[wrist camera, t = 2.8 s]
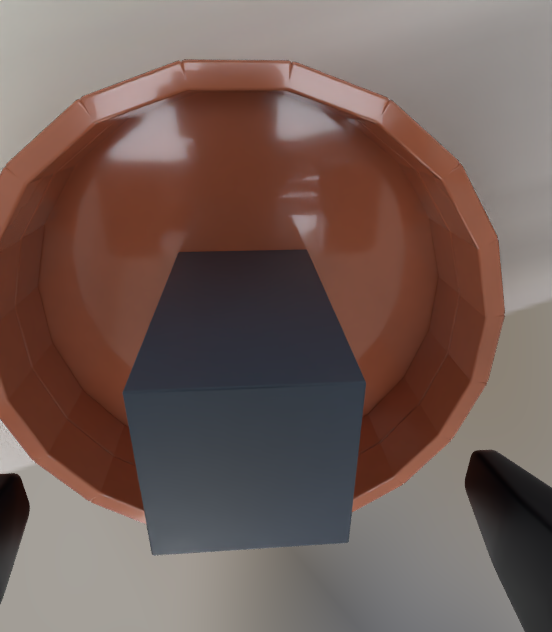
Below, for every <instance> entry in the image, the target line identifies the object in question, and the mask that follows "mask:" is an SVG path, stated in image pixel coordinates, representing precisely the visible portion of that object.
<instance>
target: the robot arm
mask: <svg viewBox="0 0 552 632" xmlns="http://www.w3.org/2000/svg"><path fill="white" fill-rule="evenodd" d="M465 488H466V492H467V495H468V498H469V501H470V504H471V506H472V509H473V512H474V515H475V517H476V520H477V523H478V525H479V528H480V531H481V534H482V536H483V539H484V542H485V545H486V547H487V550H488V553H489V556H490V558H491V561H492V563H493V566H494V568H495V570H496V572H497V574H498V577H499V579H500V581H501V583H502V585H503V587H504V589H505V591H506V593H507V596H508V598H509V600H510V602H511V604H512V606H513V608H514V610H515V612H516V614H517V616H518V619H519V621H520V623H521V625H522V627H523V629H524V631H525V632H552V488H551V487H550V486H548V485H547V484H545V483H544V482H542V481H540V480H539V479H538V478H536V477H535V476H533V475H532V474H530V473H529V472H527V471H526V470H524V469H522V468H521V467H520V466H518V465H516V464H515V463H514V462H512V461H510V460H509V459H507V458H506V457H504V456H503V455H501V454H500V453H498V452H496V451H494V450H478V451H474V452H473V453H472V455H471V458H470V462H469V466H468V470H467V473H466V477H465ZM29 509H30V506H29V501H28V498H27V495H26V492H25V489H24V486H23V483H22V480H21V478H20V476H19V475H18V474H15V473H11V474H0V604H1V601H2V599H3V596H4V593H5V590H6V587H7V584H8V581H9V577H10V574H11V571H12V568H13V565H14V561H15V558H16V555H17V552H18V549H19V545H20V542H21V539H22V536H23V532H24V529H25V526H26V523H27V520H28V516H29V511H30V510H29Z"/></svg>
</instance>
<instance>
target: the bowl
mask: <svg viewBox="0 0 552 632" xmlns="http://www.w3.org/2000/svg"><path fill="white" fill-rule="evenodd" d="M497 238H498V237H497V235H496V233H495V231H494V228H493V226H492V224H491V222H490V220H489V218H488V216H487V214H486V212H485V210H484V208H483V206H482V204H481V202H480V200H479V198H478V196H477V194H476V192H475V190H474V188H473V186H472V184H471V182H470V180H469V178H468V176H467V174H466V172H465V170H464V168H463V166H462V164H461V163H459V161H458V160H457V159H456V158H455V157H454V156H453V155H452V154H451V153H450V152H449V151H448V150H446V149H445V148H444V147H443V146H442V145H441V144H440V143H439V142H438V141H437V140H435V139H434V138H433V137H432V136H431V135H430V134H429V133H428V132H427V131H425V130H424V129H423V128H422V127H421V126H420V125H419V124H418V123H417V122H416V121H414V120H413V119H412V118H411V117H410V116H409V115H408V114H407V113H406V112H405V111H403V110H402V109H401V108H400V107H399V106H398V105H397V104H396V103H395V102H393V101H392V100H389V99H388V98H387V97H385V96H383V95H380V94H378V93H375V92H372V91H370V90H367V89H365V88H362V87H359V86H357V85H354V84H352V83H349V82H347V81H344V80H341V79H339V78H336V77H334V76H331V75H328V74H326V73H323V72H321V71H318V70H316V69H313V68H310V67H308V66H305V65H303V64H300V63H297V62H292V63H291V61H289V60H192V59H184V60H182V61H175V62H173V63H170V64H167V65H165V66H162V67H159V68H157V69H154V70H151V71H149V72H146V73H143V74H141V75H138V76H135V77H133V78H130V79H127V80H124V81H122V82H119V83H116V84H114V85H111V86H108V87H106V88H103V89H100V90H98V91H95V92H92V93H90V94H87V95H84V96H82V97H81V98H80V99H77V100H76V101H75V102H73V103H72V104H71V105H70V106H69V107H68V108H67V109H66V110H65V111H64V112H62V113H61V114H60V115H59V116H58V117H57V118H56V119H55V120H54V121H53V122H52V123H50V124H49V125H48V126H47V127H46V128H45V129H44V130H43V131H42V132H41V133H39V134H38V135H37V136H36V137H35V138H34V139H33V140H32V141H31V142H30V143H28V144H27V145H26V146H25V147H24V148H23V149H22V150H21V151H20V152H19V153H17V154H16V155H15V156H14V157H13V158H12V159H11V160H10V161H9V162H8V163H7V164H6V167H4V168H3V169H2V172H1V174H0V419H1V421H2V422H3V423H4V425H5V426H6V427H7V428H8V430H9V431H10V432H11V433H12V435H13V436H14V437H15V439H16V440H17V441H18V442H19V444H20V445H21V446H22V448H23V449H24V450H25V451H26V453H27V454H28V455H29V457H30V458H31V459H32V460H34V462H35V463H37V464H38V465H39V466H41V467H42V468H44V469H45V470H46V471H48V472H49V473H51V474H52V475H53V476H55V477H56V478H57V479H59V480H60V481H62V482H63V483H64V484H66V485H67V486H68V487H70V488H71V489H73V490H74V491H76V492H77V493H78V494H80V495H81V496H82V497H84V498H85V499H86V500H88V501H91V502H92V503H94V504H96V505H99V506H101V507H104V508H106V509H109V510H111V511H114V512H116V513H119V514H121V515H124V516H126V517H129V518H131V519H134V520H136V521H139V522H142V523H144V524H146V519H145V513H144V508H143V502H142V497H141V491H140V486H139V481H138V475H137V470H136V464H135V459H134V453H133V448H132V442H131V437H130V431H129V426H128V420H127V415H126V409H125V404H124V398H123V390H124V387H125V385H126V382H127V380H128V377H129V375H130V372H131V370H132V367H133V365H134V362H135V360H136V357H137V355H138V352H139V350H140V347H141V345H142V342H143V340H144V337H145V335H146V332H147V330H148V327H149V325H150V322H151V320H152V317H153V315H154V312H155V310H156V307H157V305H158V302H159V300H160V297H161V295H162V292H163V290H164V287H165V284H166V282H167V279H168V277H169V274H170V272H171V269H172V267H173V264H174V262H175V259H176V257H177V254H178V252H205V251H254V250H304V249H306V250H307V251H308V253H309V255H310V258H311V260H312V262H313V264H314V267H315V269H316V271H317V273H318V276H319V278H320V280H321V282H322V285H323V287H324V289H325V291H326V293H327V296H328V298H329V300H330V302H331V305H332V307H333V309H334V311H335V314H336V316H337V318H338V320H339V323H340V325H341V327H342V329H343V332H344V334H345V336H346V338H347V341H348V343H349V345H350V347H351V350H352V352H353V354H354V356H355V359H356V361H357V363H358V365H359V367H360V370H361V372H362V374H363V376H364V379H365V381H366V389H365V398H364V407H363V416H362V425H361V434H360V443H359V452H358V462H357V471H356V480H355V489H354V498H353V507H352V512H354V511H356V510H357V509H359V508H361V507H363V506H365V505H367V504H369V503H370V502H372V501H374V500H376V499H377V498H379V497H381V496H383V495H385V494H387V493H389V492H390V491H392V490H394V489H396V488H398V487H399V486H401V485H403V483H406V482H407V481H408V480H409V479H410V478H411V477H412V476H413V475H414V474H415V473H417V472H418V471H419V470H420V469H421V468H422V467H423V466H424V465H425V464H426V463H427V462H429V461H430V460H431V459H432V458H433V457H434V456H435V455H436V454H437V453H438V452H439V451H440V450H442V448H444V447H445V446H446V445H447V444H448V443H449V442H450V441H451V439H453V438H454V436H455V434H456V433H457V431H458V430H459V428H460V426H461V425H462V423H463V422H464V420H465V418H466V417H467V415H468V414H469V412H470V410H471V409H472V407H473V405H474V404H475V402H476V401H477V399H478V397H479V396H480V394H481V393H482V391H483V389H484V388H485V386H486V384H487V382H488V380H489V376H490V372H491V368H492V364H493V360H494V356H495V352H496V348H497V344H498V340H499V336H500V333H501V329H502V325H503V321H504V317H505V316H504V314H505V307H504V296H503V286H502V275H501V264H500V253H499V242H498V239H497ZM146 525H147V524H146Z"/></svg>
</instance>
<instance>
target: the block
mask: <svg viewBox="0 0 552 632" xmlns="http://www.w3.org/2000/svg"><path fill="white" fill-rule="evenodd" d="M365 389H366V381H365V379H364V376H363V374H362V372H361V370H360V367H359V365H358V363H357V361H356V359H355V356H354V354H353V352H352V350H351V347H350V345H349V343H348V341H347V338H346V336H345V334H344V332H343V329H342V327H341V325H340V323H339V320H338V318H337V316H336V314H335V311H334V309H333V307H332V305H331V302H330V300H329V298H328V296H327V293H326V291H325V289H324V287H323V285H322V282H321V280H320V278H319V276H318V273H317V271H316V269H315V267H314V264H313V262H312V260H311V258H310V255H309V253H308V251H307V250H306V249H304V250H254V251H205V252H178V254H177V257H176V259H175V262H174V264H173V267H172V269H171V272H170V274H169V277H168V279H167V282H166V284H165V287H164V290H163V292H162V295H161V297H160V300H159V302H158V305H157V307H156V310H155V312H154V315H153V317H152V320H151V322H150V325H149V327H148V330H147V332H146V335H145V337H144V340H143V342H142V345H141V347H140V350H139V352H138V355H137V357H136V360H135V362H134V365H133V367H132V370H131V372H130V375H129V377H128V380H127V382H126V385H125V387H124V390H123V398H124V404H125V409H126V415H127V420H128V426H129V431H130V437H131V442H132V448H133V453H134V459H135V464H136V470H137V475H138V481H139V486H140V491H141V497H142V502H143V508H144V513H145V519H146V524H147V530H148V535H149V540H150V546H151V551H152V555H169V554H183V553H200V552H215V551H230V550H246V549H260V548H276V547H292V546H307V545H322V544H336V543H348V542H349V534H350V524H351V516H352V507H353V498H354V489H355V480H356V471H357V462H358V452H359V443H360V434H361V425H362V416H363V407H364V398H365Z"/></svg>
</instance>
